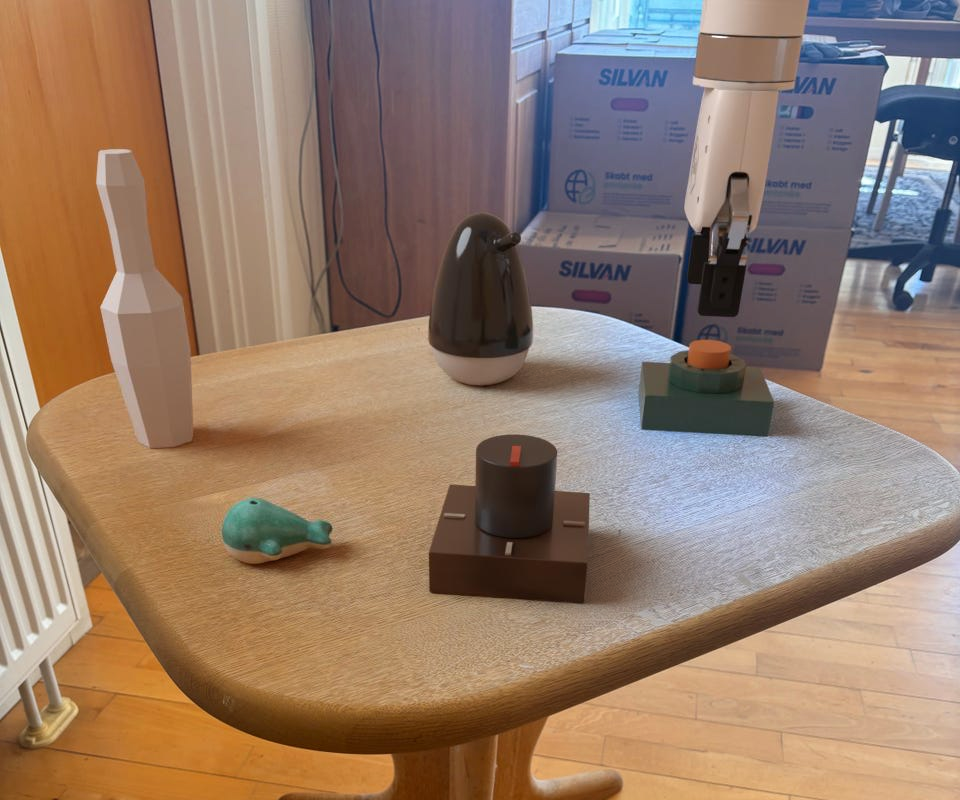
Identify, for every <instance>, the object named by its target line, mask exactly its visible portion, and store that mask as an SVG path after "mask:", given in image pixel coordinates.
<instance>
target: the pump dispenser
mask: <svg viewBox="0 0 960 800" xmlns="http://www.w3.org/2000/svg"><path fill="white" fill-rule="evenodd" d="M521 242H522V236H521V234H520V233H519V232H518V231H513V232H511V230H510V228H509V227H508V225H507V223H505V221H503V220H502V219H501V218H500V217H499V216H496V215H495V214H492V213H489V212H476V213H472V214H470V215H468V216H465V217H464V218H463V219H462V220H460V221H459V223H458V224H457V225H456V227H455V228H454V230H453V232H452V233H451V235H450V237H449V239H448V241H447V243H446V246H445V248H444V251H443V254H442V256H441V261H440V264H439V267H438V271H437V275H436V278H435V281H434V286H433V292H432V297H431V302H430V310H429V317H428V327H427V340H428V344H429V346H431V349H432V352H433V357H434V359H435V361H436V363H437V365H438V366H439V367H440V369H441V370H442V372H443V373H445V375H447V376H448V377H450V378H451V379H453V380H454V381H457V382H459V383H462V384H465V385H470V386H491V385H496V384H501V383H502V382H505V381H507V380H509V379H511V378H512V377H513V376H514V375H515V374H517V373H518V372H519V371H520V369H521V368H522V366H523V365H524V363H525V361H526V359H527V356H528V354H529V350H530V348H531V347H532V346H533V344H534V320H533V319H534V318H533V309H532V300H531V295H530V289H529V288H530V287H529V284H528V279H527V274H526V271H525V267H524V263H523V260H522V259H523V258H522V256H521V253H520V250H519V247H518V245H519V244H521Z"/></svg>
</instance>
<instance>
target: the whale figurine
mask: <svg viewBox="0 0 960 800" xmlns="http://www.w3.org/2000/svg"><path fill="white" fill-rule="evenodd" d="M332 532H333V526H332V524H331V523H330V522H328V521H326V520H321V519H316V520H313V521H310V520H307V519H305V518H304V517H302V516H300V515H298V514H296V513H294V512H292V511H291V510H288V509H286V508H284V507H281V506H279V505H277V504H274V503H272V502H271V501H269V500H265V499H263V498H259V497H249V498H245V499H243V500H240V501H238V502H237V503H235V504H234V505H232V507H230V508H229V510H228V511H227V513H226V514H225V516H224V518H223V521H222V525H221V536H222V543H223V546H224V548H225V550H226V552H227V553H228V555H230V556H231V557H232V558H233V559H235V560H237V561H239V562H242V563H246V564H253V565H255V564H264V563H268V562H271V561H272V562H273V561H277V560H280V559H283V558H287V557H290V556H293V555H296V554H298V553H301V552H304V551H305V550H307V549H310V548H314V549H318V550H324V549H327V548H329V547H330V546H331V545H332V540H331V537H330V535H331V534H332Z"/></svg>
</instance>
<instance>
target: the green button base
mask: <svg viewBox="0 0 960 800" xmlns="http://www.w3.org/2000/svg"><path fill="white" fill-rule="evenodd" d="M688 353H689V349H688V350H687V349H686V350H681V351H678V352H676V353H674V354H672V355H671V356H670V358H669V362H656V361H655V362H653V361H641V367H640V376H639V385H638V393H637V395H638V406H639V420H640V430H641V431H656V432H657V431H658V432H659V431H660V432H674V433H693V434H712V435H729V436H730V435H731V436H749V437H766V438H767V437H769V432H770V426H771V422H772V416H773V411H774V406H775V401H774V398H773V395H772V393H771V391H770V388H769V385H768V383H767V381H766V378H765V375H764V373H763V370H762V368H761V367H756V366H754V367H753V366H747V365H746V363H745V359H742V358H740V357H738V356H737V355H734V354H732V353H730V358H729V364H728V368H723V369H702V368H698V367H694V366H691V365H689V364H687V360H688Z"/></svg>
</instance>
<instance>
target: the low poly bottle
mask: <svg viewBox="0 0 960 800" xmlns="http://www.w3.org/2000/svg"><path fill="white" fill-rule="evenodd" d="M95 179H96V180H95V181H96V182H95V184H96V188H97V190H98V195H99V198H100V201H101V202H100V203H101V206H102V209H103V213H104V216H105V219H106V223H107V227H108V233H109V237H110V243H111V249H112V252H113V258H114V263H115V269H116V273H115V274H114V276H113V279H112V281H111V283H110V285H109V287H108V289H107V292H106V294H105V296H104V299H103V300H102V303H101V305H100V307H99V308H100V312H101V317H102V322H103V328H104V332H105V337H106V341H107V347H108V352H109V357H110V361H111V365H112V367H113V370H114V373H115V376H116V379H117V382H118V386H119V389H120V391H121V394H122V397H123V401H124V403H125V406H126V410H127V412H128V415H129V417H130V418H129V419H130V421H131V424H132V427H133V430H134V434H135V436H136V439H137V442H138V443H139V444H141V445H143V446H145V447H147V448H149V449H162V448H165V449H166V448H174V447H177V446H180V445H181V446H182V445H185V444H186V443H190V442H192V441H193V438H194V437H193V436H194V414H193V413H194V407H193V384H192V383H193V381H192V354H191V353H192V351H191V344H190V337H189V331H188V325H187V319H186V312H185V305H184V298H183V296H181V294H180V293H179V292H178V290H176V289H175V287H174V286H173V285H172V284H171V283H170V282H169V281H168V280H167V278H165V276H164V275H163V274H162V273H161V272H160V271H159V270H158V268H157V267H156V264H155V259H154V253H153V247H152V246H153V245H152V241H151V240H152V239H151V235H150V229H149V222H148V221H149V220H148V209H147V198H146V197H147V196H146V186H145V185H146V184H145V183H146V182H145V179H144V177H143V174H142V172H141V169H140V167H139V165H138V162H137V160H136V158H135V156H134V153H133V151H132V150H131V149H125V148H110V149H101V150H99V151H98V153H97V167H96V178H95Z"/></svg>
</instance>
